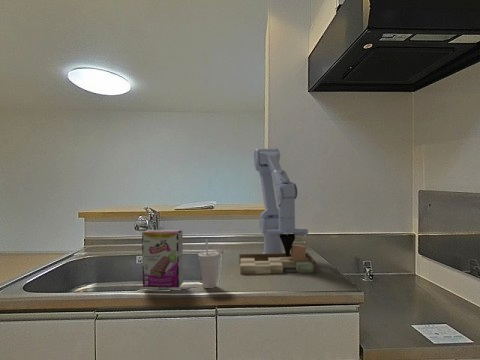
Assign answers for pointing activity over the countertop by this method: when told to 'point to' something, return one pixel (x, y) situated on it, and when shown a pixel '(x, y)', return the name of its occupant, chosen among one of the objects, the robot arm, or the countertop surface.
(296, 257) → the block
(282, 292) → the countertop surface
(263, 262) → the cubby shelf
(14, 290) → the countertop surface
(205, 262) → the smoothie
